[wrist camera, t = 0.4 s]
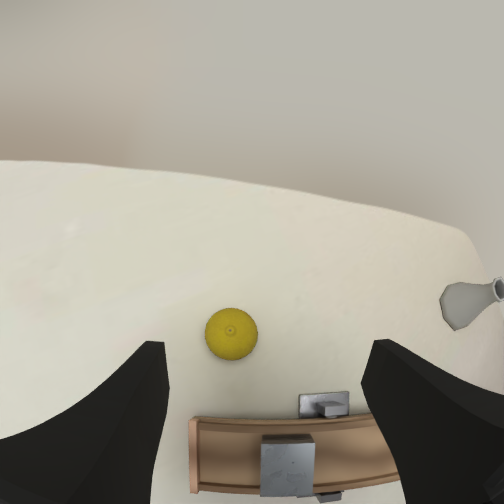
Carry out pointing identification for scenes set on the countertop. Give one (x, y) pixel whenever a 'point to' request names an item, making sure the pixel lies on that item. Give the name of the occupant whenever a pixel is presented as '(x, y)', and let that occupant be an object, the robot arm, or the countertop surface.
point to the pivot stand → (320, 408)
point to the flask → (469, 301)
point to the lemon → (231, 334)
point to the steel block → (287, 465)
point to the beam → (321, 429)
